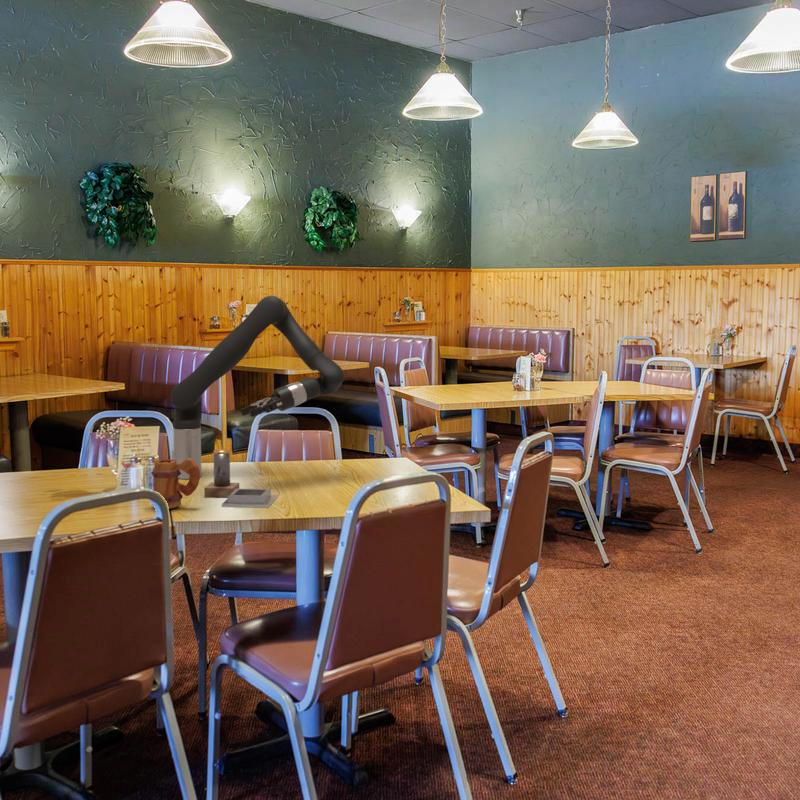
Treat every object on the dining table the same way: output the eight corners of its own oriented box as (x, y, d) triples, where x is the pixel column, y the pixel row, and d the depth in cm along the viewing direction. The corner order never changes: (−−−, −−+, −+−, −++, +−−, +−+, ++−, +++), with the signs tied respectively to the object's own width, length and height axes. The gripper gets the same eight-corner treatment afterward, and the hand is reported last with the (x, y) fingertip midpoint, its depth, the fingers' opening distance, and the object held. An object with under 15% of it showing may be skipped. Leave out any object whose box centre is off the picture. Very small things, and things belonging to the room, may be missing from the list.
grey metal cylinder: (212, 486, 282) (211, 451, 281) (216, 483, 287) (215, 448, 286) (228, 487, 282) (227, 451, 281) (231, 483, 287) (231, 449, 286)
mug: (146, 510, 263) (145, 459, 261) (157, 504, 271) (156, 455, 269) (194, 512, 261) (193, 461, 259) (204, 506, 269) (203, 456, 267)
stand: (204, 497, 281) (204, 487, 281) (211, 491, 290) (211, 482, 290) (233, 497, 280) (232, 488, 280) (239, 491, 289) (239, 482, 289)
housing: (221, 506, 268) (221, 496, 268) (232, 496, 282) (232, 487, 282) (268, 507, 267) (268, 497, 267) (276, 497, 281) (276, 488, 281)
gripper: (278, 385, 303) (234, 401, 295) (294, 385, 290) (249, 403, 283) (284, 405, 304) (241, 423, 297) (302, 407, 292) (257, 425, 284)
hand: (245, 413), depth 290 cm, fingers open, 8 cm apart
